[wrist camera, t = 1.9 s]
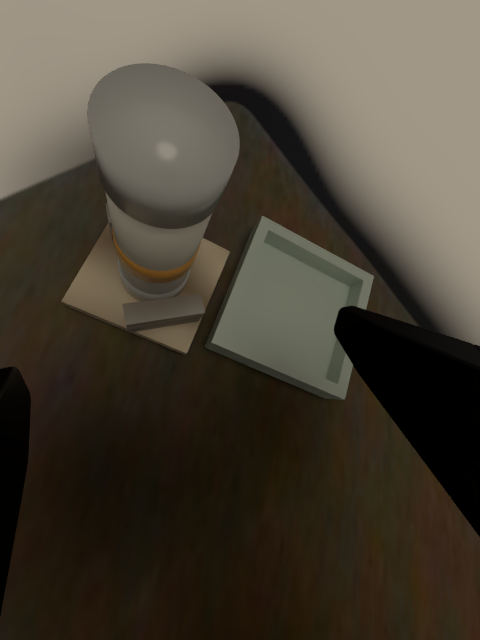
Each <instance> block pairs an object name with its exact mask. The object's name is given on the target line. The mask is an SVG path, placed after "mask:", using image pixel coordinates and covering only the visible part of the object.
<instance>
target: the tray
mask: <svg viewBox="0 0 480 640" xmlns="http://www.w3.org/2000/svg"><path fill="white" fill-rule="evenodd" d="M373 278H374V276H373V275H371V274H369V273H367V272H365V271H363V270H361V269H360V268H358V267H356V266H354V265H352V264H350V263H349V262H347V261H345V260H343V259H341V258H339V257H338V256H336V255H334V254H332V253H330V252H328V251H326V250H325V249H323V248H321V247H319V246H317V245H315V244H314V243H312V242H310V241H308V240H306V239H304V238H303V237H301V236H299V235H297V234H295V233H293V232H291V231H290V230H288V229H286V228H284V227H282V226H280V225H279V224H277V223H275V222H273V221H271V220H269V219H268V218H266V217H264V216H262V217H261V218H260V220H259V221H258V223H257V224H256V226H255V227H254V228H253V230H252V231H251V233H250V236H249V238H248V241H247V243H246V246H245V248H244V250H243V253H242V255H241V258H240V260H239V263H238V265H237V268H236V270H235V273H234V275H233V277H232V280H231V282H230V285H229V287H228V290H227V292H226V295H225V297H224V299H223V302H222V304H221V307H220V309H219V312H218V314H217V317H216V319H215V322H214V324H213V326H212V329H211V331H210V334H209V336H208V339H207V341H206V344H205V346H204V347H205V348H207V349H209V350H212V351H214V352H216V353H219V354H221V355H223V356H226V357H228V358H230V359H233V360H235V361H238V362H240V363H242V364H245V365H247V366H249V367H252V368H254V369H256V370H259V371H261V372H263V373H266V374H268V375H270V376H273V377H275V378H278V379H280V380H282V381H285V382H287V383H289V384H292V385H294V386H296V387H299V388H301V389H303V390H306V391H308V392H310V393H313V394H315V395H318V396H320V397H322V398H325V399H339V400H345V397H346V392H347V388H348V384H349V380H350V375H351V371H352V367H353V364H352V363H351V361H350V359H349V358H348V356H347V354H346V353H345V351H344V349H343V348H342V346H341V344H340V343H339V341H338V339H337V338H336V336H335V334H334V325H335V322H336V318H337V315H338V311H339V310H340V308H342V307H346V306H356V307H359V308H362V309H365V310H366V308H367V303H368V299H369V295H370V291H371V286H372V282H373Z"/></svg>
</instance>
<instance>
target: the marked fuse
mask: <svg viewBox="0 0 480 640" xmlns="http://www.w3.org/2000/svg"><path fill="white" fill-rule="evenodd" d="M87 116H88V124H89V129H90V134H91V139H92V143H93V148H94V153H95V158H96V163H97V167H98V172H99V176H100V180H101V183H102V185H103V188H104V189H105V191H106V196H107V201H108V207H109V212H110V217H111V222H112V233H113V239H114V244H115V249H116V253H117V256H118V268H119V273H120V278H121V282H122V284H123V286H124V288H125V290H126V291H127V292H128V293H129V294H130V295H131V296H132V297H133V298H134V299H136V300H138V301H147V300H155V299H162V298H170V297H177V296H179V294H180V293H181V292H182V290H183V289H184V286H185V284H186V282H187V279H188V277H189V274H190V270H191V266H192V264H193V262H194V260H195V257H196V255H197V253H198V250H199V247H200V244H201V240H202V237H203V235H204V232H205V230H206V227H207V225H208V222H209V220H210V217H211V215H212V213H213V212H214V210H215V209H216V207H217V206H218V204H219V202H220V200H221V197H222V195H223V193H224V190H225V188H226V185H227V183H228V181H229V178H230V176H231V173H232V171H233V169H234V166H235V164H236V161H237V158H238V154H239V147H240V142H239V134H238V129H237V126H236V123H235V120H234V118H233V116H232V114H231V112H230V111H229V109H228V107H227V106H226V105H225V103H224V102H223V101H222V100H221V98H219V97H218V95H217V94H216V93H215V92H214V91H213V90H211V89H210V88H209V87H208V86H206V85H205V84H204V83H202V82H201V81H199V80H198V79H196V78H195V77H193V76H191V75H189V74H187V73H185V72H183V71H180V70H178V69H175V68H171V67H168V66H163V65H157V64H133V65H128V66H124V67H121V68H118V69H116V70H114V71H112V72H110V73H109V74H107V75H106V76H104V77H103V78H102V79H101V80H100V81H99V82H98V84H97V85H96V86H95V88H94V89H93V91H92V93H91V96H90V99H89V102H88V110H87Z"/></svg>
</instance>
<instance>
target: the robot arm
mask: <svg viewBox="0 0 480 640" xmlns="http://www.w3.org/2000/svg"><path fill="white" fill-rule="evenodd" d="M334 334H335V336H336V338H337V339H338V341H339V343H340V344H341V346H342V348H343V349H344V351H345V353H346V354H347V356H348V358H349V359H350V361H351V363H352V364H353V366H354V367H355V369H356V371H357V372H358V373H359V375H360V376H361V378H362V379H363V380H364V382H365V383H366V384H367V386H368V387H369V388H370V390H371V391H372V392H373V394H374V395H375V396H376V398H377V399H378V400H379V402H380V403H381V404H382V406H383V407H384V409H385V410H386V411H387V413H388V414H389V415H390V417H391V418H392V419H393V421H394V422H395V423H396V425H397V426H398V427H399V429H400V430H401V431H402V433H403V434H404V435H405V437H406V438H407V439H408V441H409V442H410V443H411V445H412V446H413V447H414V449H415V450H416V451H417V453H418V454H419V456H420V457H421V458H422V460H423V461H424V462H425V464H426V465H427V466H428V468H429V469H430V470H431V472H432V473H433V474H434V476H435V477H436V478H437V480H438V481H439V482H440V484H441V485H442V486H443V488H444V489H445V490H446V492H447V493H448V494H449V496H450V497H451V499H452V500H453V502H454V503H455V504H456V506H457V507H458V508H459V510H460V511H461V512H462V514H463V515H464V516H465V518H466V519H467V520H468V522H469V523H470V524H471V526H472V527H473V528H474V530H475V531H476V532H477V534H478V535H479V537H480V346H478V345H473V344H471V343H468V342H465V341H462V340H459V339H455V338H453V337H450V336H446V335H443V334H440V333H437V332H434V331H431V330H427V329H424V328H421V327H418V326H415V325H412V324H409V323H406V322H403V321H399V320H396V319H393V318H390V317H387V316H384V315H381V314H378V313H374V312H371V311H368V310H365V309H362V308H359V307H356V306H346V307H342V308H340V310H339V311H338V315H337V318H336V322H335V325H334ZM30 409H31V397H30V392H29V390H28V388H27V386H26V384H25V381H24V379H23V377H22V375H21V373H20V371H19V370H18V369H17V368H16V367H7V368H2V369H0V615H1V610H2V604H3V599H4V593H5V588H6V582H7V576H8V571H9V565H10V560H11V554H12V549H13V543H14V538H15V532H16V527H17V521H18V515H19V510H20V504H21V499H22V493H23V488H24V482H25V477H26V471H27V464H28V453H29V431H30Z"/></svg>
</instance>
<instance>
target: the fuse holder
mask: <svg viewBox="0 0 480 640" xmlns="http://www.w3.org/2000/svg"><path fill="white" fill-rule="evenodd" d="M105 204H106V210H107V216H108V222H109V223H108V224H107V226H106V228H105V229H104V231H103V233H102V234H101V236H100V238H99V239H98V241H97V243H96V244H95V246H94V248H93V249H92V251H91V253H90V254H89V256H88V258H87V259H86V261H85V263H84V264H83V266H82V268H81V269H80V271H79V273H78V274H77V276H76V278H75V279H74V281H73V283H72V284H71V286H70V288H69V289H68V291H67V293H66V294H65V296H64V298H63V299H62V301H61V302H62V303H63V304H64V305H65V306H67V307H70V308H72V309H75V310H77V311H79V312H82V313H84V314H87V315H89V316H92V317H94V318H96V319H99V320H101V321H104V322H106V323H108V324H111V325H113V326H116V327H118V328H121V329H123V330H125V331H128V333H133V334H135V335H137V336H140V337H142V338H145V339H147V340H150V341H152V342H154V343H157V344H159V345H162V346H164V347H167V348H169V349H171V350H174V351H176V352H179V353H181V354H183V355H186V354H187V352H188V350H189V347H190V345H191V343H192V340H193V338H194V336H195V333H196V331H197V329H198V326H199V324H200V321H201V319H202V317H203V315H204V314H205V310H206V307H207V305H208V303H209V300H210V298H211V296H212V293H213V291H214V288H215V286H216V284H217V281H218V279H219V277H220V274H221V272H222V270H223V267H224V265H225V263H226V260H227V258H228V255H229V253H230V251H228V250H226V249H224V248H222V247H220V246H218V245H216V244H214V243H212V242H210V241H208V240H206V239H204V238H202V240H201V244H200V247H199V250H198V253H197V255H196V257H195V260H194V262H193V264H192V266H191V270H190V274H189V277H188V279H187V282H186V284H185V286H184V289H183V290H182V292H181V293H180V294H179V296H177V297H170V298H162V299H155V300H147V301H138V300H136V299H134V298H133V297H132V296H131V295H130V294H129V293H128V292H127V291H126V290H125V288H124V286H123V284H122V282H121V278H120V273H119V268H118V256H117V253H116V249H115V244H114V239H113V233H112V222H111V217H110V212H109V207H108V203H105Z"/></svg>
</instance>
